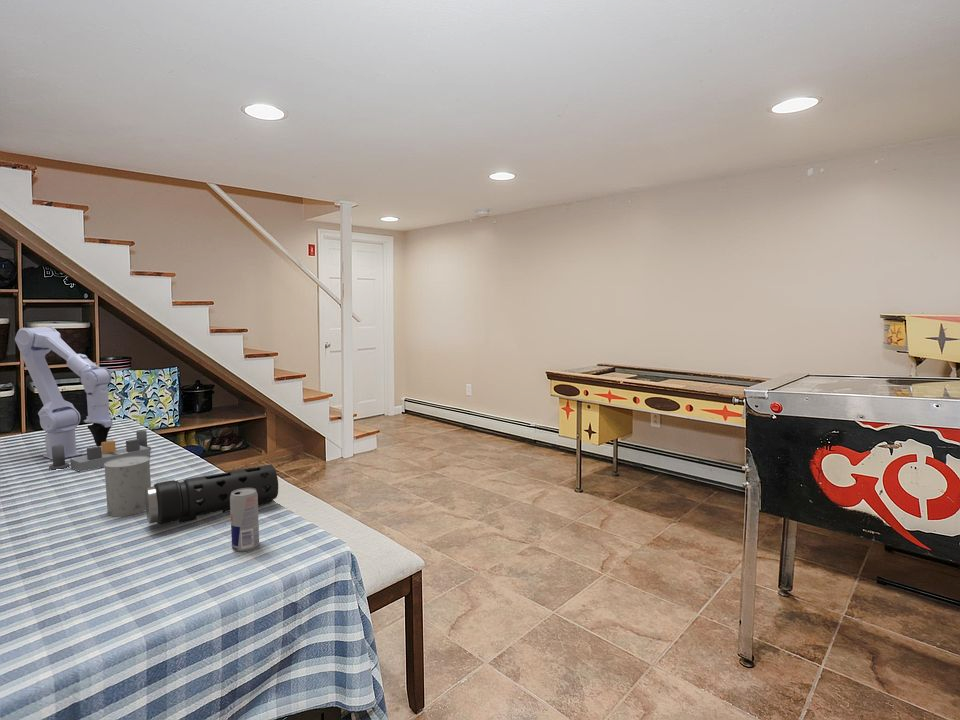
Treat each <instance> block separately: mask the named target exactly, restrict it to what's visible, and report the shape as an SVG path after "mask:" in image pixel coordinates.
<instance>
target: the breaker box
mask: <svg viewBox="0 0 960 720" xmlns="http://www.w3.org/2000/svg"><path fill="white" fill-rule="evenodd" d="M128 456H147V457H149V458H151V451H150V448H147V447H144V446H141V445H140V443H139V439H137V438H134V439H130V440H129V439H128V440H125V447H124V448H119V449H116V452H111V453H106V454H104V453H102V447H101V446H91V447H87V448H86V455H84V456H80V457H79V456H77V457H74V458H70V469H71V468H74V469H76V470H79V471H83V470H88V469H93V468H98V467H103V466H104V463H105V462H107V461H110V460H113V459H117V458H122V457H128ZM103 468H104V467H103ZM74 469H73V470H74ZM98 469H99V468H98ZM76 470H75V471H76ZM93 470H94V469H93Z"/></svg>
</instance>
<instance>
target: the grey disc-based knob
mask: <svg viewBox="0 0 960 720" xmlns="http://www.w3.org/2000/svg"><path fill="white" fill-rule="evenodd" d="M52 459H53V460H52ZM52 459H51V460H52V464H51V465H49V466H48V470H49V469H51V470H56V469H64V468H67V467H69V466H70V462H66V458H65V453H64V445H58V446H53V447H52ZM69 468H70V467H69ZM67 469H68V468H67ZM64 470H65V469H64Z"/></svg>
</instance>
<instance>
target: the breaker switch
mask: <svg viewBox="0 0 960 720" xmlns="http://www.w3.org/2000/svg"><path fill="white" fill-rule="evenodd" d="M100 447H101V451H102V453H104V454H106V453H111V452H116V450H117V449H116V447H117V446H116V440H106V442H101V446H100Z"/></svg>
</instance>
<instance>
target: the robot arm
mask: <svg viewBox="0 0 960 720" xmlns="http://www.w3.org/2000/svg"><path fill="white" fill-rule="evenodd" d="M61 336H62V335H61V333H60V332H59V331H57V329H56V328H55V327H52V326H46V327H22V328H19V329H18V331H17V332H16V335H15V338H14V341H15V344H16V345H17V348H18V351H19V352H20V354H21V357H22V360H23V362H24V365H25V367H26V369H27V371H28V373H29V376H30V378H31V380H32V382H33V385H34V387H35V389H36V391H37V394H38V396H39V398H40V400H41V402H42V405H43V406H42V407H41V408H40V410H39V411H38V412H37V415H38V416H39V424H40V427H41V428H42V430H43V431H45V433H46V434H45V436H44V437H45V438H44V440H45V442H44V443H45V453H43V454H42V456H43V457H44V458H48V459H50V460H51V461H53V459H52V447H53V446H58V445H64V453H65V459H67V458H72V457H76V456H77V457H79V456H81V455H82V453H81V452H79V451H78V450H77V440H76V439H77V438H76V429H77V428H78V425H79V424H80V423H81V414H80V412H79V411H78V410H77V409H76V407H75V406H74V404H73V403H71V402H70V401H67V400H65V399H64V397H63V395H62V393H61V391H60V389H59V387H58V384H57V382H56V379H55V377H54V376H53V373H52V371H51V369H50V367H49V365H48V362H47V360H46V355H47V354H49V353H50V352H51V351H52V352H54V353H55V354H56V355H58V356H59V357H61V358H63V359H64V360H65V361H66V366H67V368H69V369H70V371H72V372H73V373H74V374H76V375H77V376H78V377H80V383H81V385H82V386H83V388H84V392H85V393H86V402H87V403H86V405H87V415H86V419H84V420H83V423H85V424H86V423H87V424H88V423H92V424H90V425H87V429H88V430H89V432H90V433H91V435H92V437H93V440H94V443H95V445H96V446H100V447H101V442H106V441H108V435H109V432H110V430H111V428H112V427H113V425H114V424H113V423H114V422H113V420H111V417H110V404H109V403H110V401H109V389H108V385H109V384H110V383H111V381H112V373H111V372H110V370H109V369H108V368H107V367H101V366H98V364H96V363H94V362H93V361H92V360H90V359H89V358H88V356H87V355H86V354H82V353H76V351H74V349H72V347H70V345H68V344H67V343H66V342H65V341H64V340H63V339H62V337H61ZM96 446H95V447H96Z"/></svg>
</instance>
